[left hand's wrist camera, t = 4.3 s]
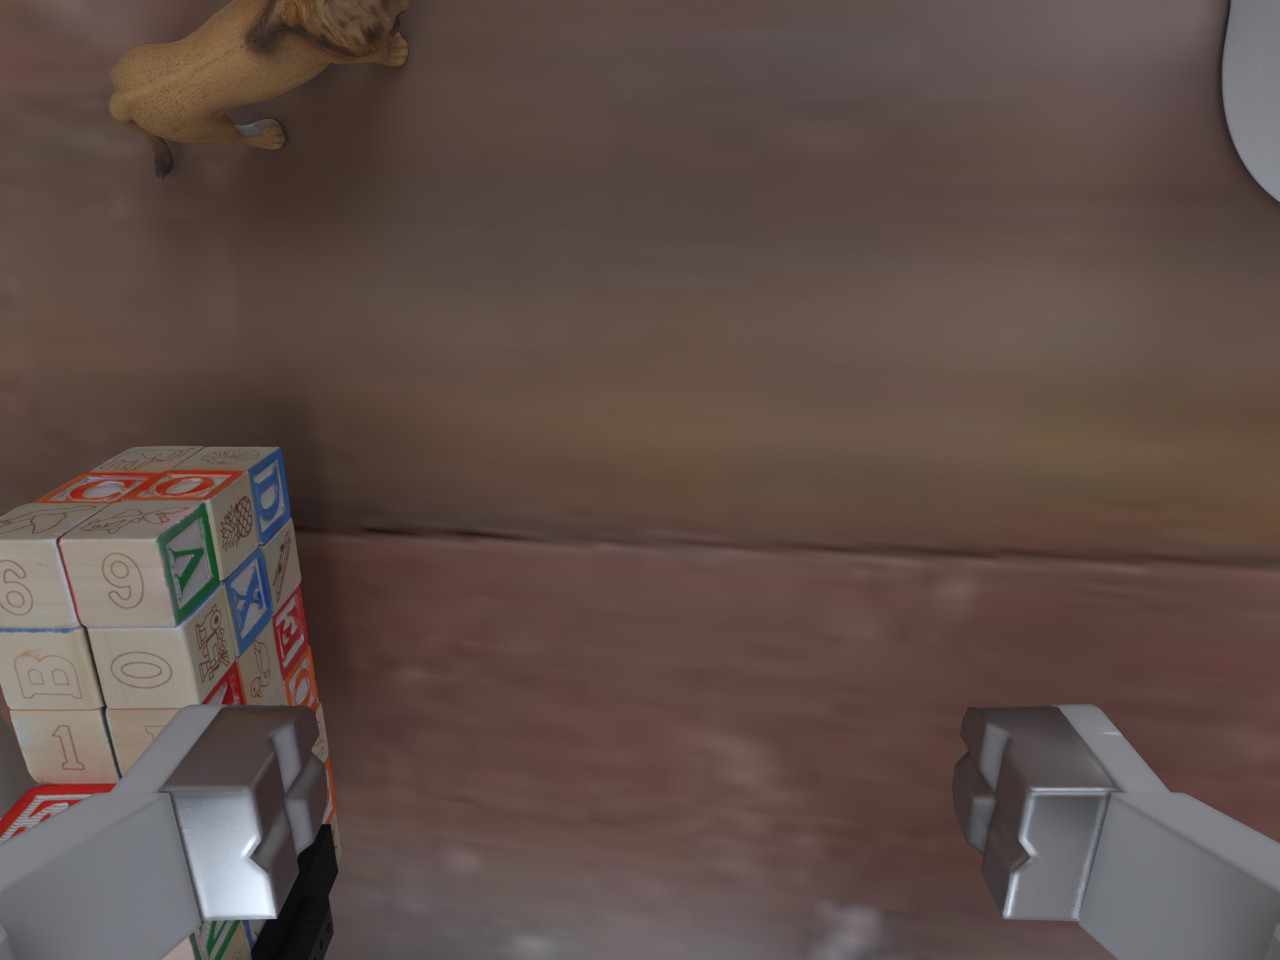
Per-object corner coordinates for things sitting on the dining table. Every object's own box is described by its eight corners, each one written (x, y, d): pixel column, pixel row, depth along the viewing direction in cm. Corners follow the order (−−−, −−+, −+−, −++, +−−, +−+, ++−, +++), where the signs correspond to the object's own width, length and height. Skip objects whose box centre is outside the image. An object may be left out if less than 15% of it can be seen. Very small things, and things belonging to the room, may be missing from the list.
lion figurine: (393, -135, 31) (300, -244, 22) (486, 0, 32) (433, -55, 24) (119, 123, 34) (-53, 112, 25) (216, 234, 35) (85, 259, 27)
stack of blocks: (128, 442, 34) (-134, 582, 22) (284, 442, 34) (104, 582, 22) (217, 860, 41) (55, 1128, 30) (346, 859, 41) (234, 1127, 30)
